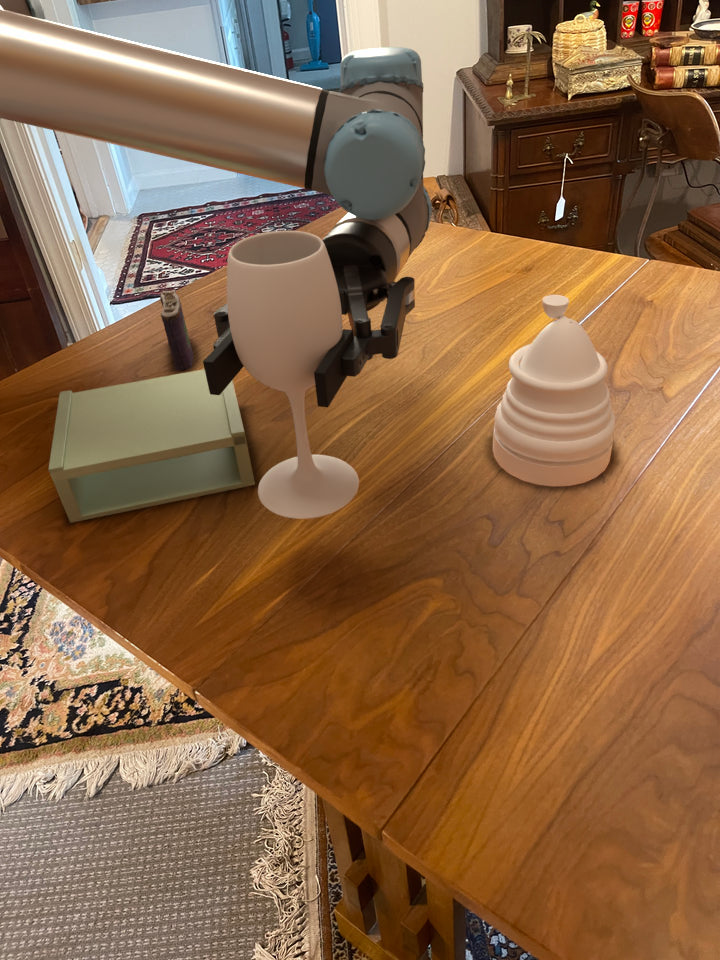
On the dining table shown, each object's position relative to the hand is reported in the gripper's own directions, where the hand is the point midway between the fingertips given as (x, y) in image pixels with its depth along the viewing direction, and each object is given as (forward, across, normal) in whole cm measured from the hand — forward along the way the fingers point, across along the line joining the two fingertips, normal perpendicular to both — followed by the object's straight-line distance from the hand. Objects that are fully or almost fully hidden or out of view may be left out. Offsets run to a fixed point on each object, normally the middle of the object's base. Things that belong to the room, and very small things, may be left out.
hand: (265, 384), depth 51 cm
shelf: (-18, +25, -24) cm, 39 cm away
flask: (-42, +35, -25) cm, 60 cm away
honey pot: (-29, -19, -24) cm, 43 cm away
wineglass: (-5, 0, -13) cm, 14 cm away
